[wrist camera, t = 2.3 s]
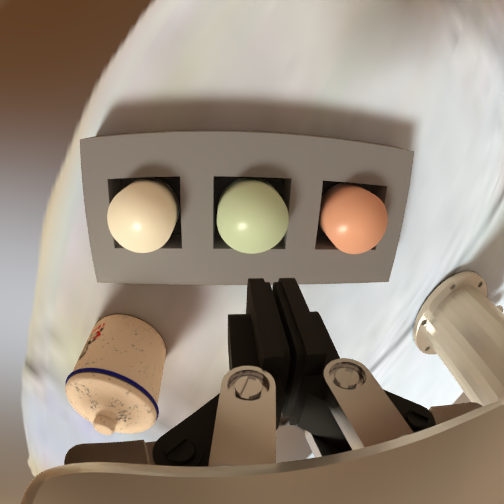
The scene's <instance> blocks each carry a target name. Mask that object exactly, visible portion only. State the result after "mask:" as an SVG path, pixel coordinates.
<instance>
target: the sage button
mask: <svg viewBox="0 0 504 504" xmlns="http://www.w3.org/2000/svg"><path fill="white" fill-rule="evenodd" d="M288 222H289V215H288V210H287V207H286V205H285V203H284V201H283V200H282V198H281V197H280V195H279V194H278V192H277V191H276V190H275V188H274V187H273V186H272V185H271V184H269V183H268V182H266V181H265V180H262V179H260V178H255V177H246V178H241V179H238V180H236V181H234V182H232V183H231V184H229V185H228V186H227V187H226V188H225V189H224V191H223V192H222V194H221V196H220V198H219V202H218V211H217V227H218V231H219V233H220V235H221V237H222V239H223V240H224V241H225V242H226V244H227V245H229V246H230V247H231V248H233V249H235V250H237V251H239V252H242V253H248V254H255V253H261V252H264V251H267V250H269V249H271V248H273V247H274V246H275V245H277V244H278V243H279V242H280V240H281V239H282V238H283V236H284V235H285V233H286V231H287V227H288Z"/></svg>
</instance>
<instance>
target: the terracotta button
mask: <svg viewBox="0 0 504 504" xmlns="http://www.w3.org/2000/svg"><path fill="white" fill-rule="evenodd" d="M318 223H319V225H320V227H321V229H322V230H323V231H324V233H325V234H326V235H327V236H328V238H329V239H330V240H331V241H332V243H333V244H334V245H335V246H336V247H337V248H338V249H339V250H341V251H343V252H345V253H348V254H360V253H364V252H366V251H368V250H370V249H372V248H373V247H374V246H376V245H377V244H378V242H379V241H380V240H381V239H382V237H383V235H384V233H385V231H386V228H387V223H388V215H387V210H386V207H385V205H384V203H383V202H382V201H381V199H379V198H378V197H377V196H376V195H374V194H372V193H371V192H369V191H367V190H366V189H364V188H362V187H360V186H358V185H356V184H353V183H341V184H337V185H335V186H333V187H331V188H330V189H329V190H328V191H327V192H326V193H325V194H324V195H323V197H322V198H321V204H320V212H319V221H318Z"/></svg>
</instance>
